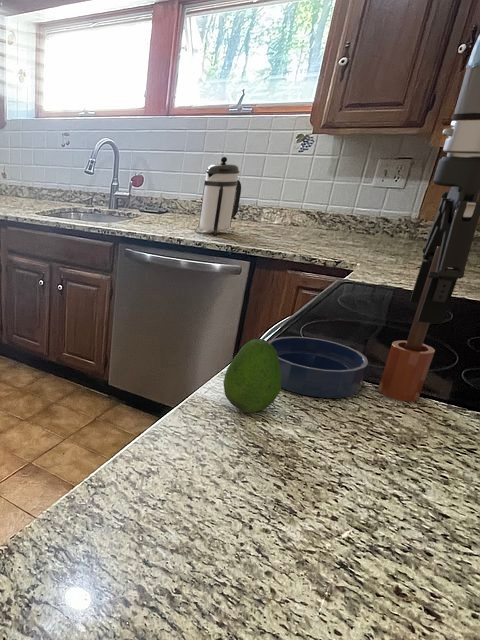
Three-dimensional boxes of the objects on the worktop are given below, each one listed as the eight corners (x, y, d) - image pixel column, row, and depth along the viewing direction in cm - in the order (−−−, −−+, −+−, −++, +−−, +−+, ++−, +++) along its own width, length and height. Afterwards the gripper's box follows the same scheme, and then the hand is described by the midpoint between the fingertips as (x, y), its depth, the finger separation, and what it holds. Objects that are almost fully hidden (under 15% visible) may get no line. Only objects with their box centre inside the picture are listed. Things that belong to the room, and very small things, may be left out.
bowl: (315, 361, 99) (322, 334, 97) (381, 397, 86) (391, 367, 83) (242, 367, 97) (247, 339, 95) (297, 406, 83) (305, 375, 81)
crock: (396, 388, 88) (412, 339, 85) (426, 404, 83) (444, 352, 80) (368, 391, 88) (383, 341, 84) (396, 407, 83) (413, 354, 79)
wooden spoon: (389, 389, 87) (435, 244, 77) (404, 391, 86) (452, 245, 76) (391, 397, 85) (438, 248, 75) (406, 399, 84) (456, 249, 74)
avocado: (254, 427, 78) (269, 352, 73) (209, 406, 84) (220, 336, 79) (285, 412, 82) (301, 341, 77) (240, 393, 88) (253, 326, 83)
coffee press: (235, 237, 212) (248, 157, 200) (194, 235, 217) (204, 157, 205) (234, 229, 227) (246, 155, 215) (195, 228, 232) (205, 155, 220)
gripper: (430, 151, 81) (389, 290, 90) (455, 159, 64) (401, 330, 72) (493, 151, 78) (444, 296, 87) (538, 159, 60) (470, 340, 69)
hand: (424, 311), depth 80 cm, fingers open, 10 cm apart
